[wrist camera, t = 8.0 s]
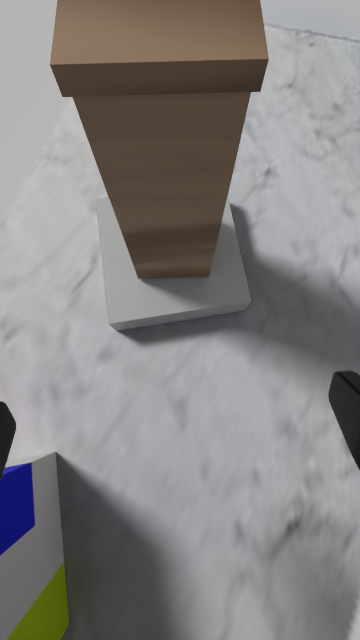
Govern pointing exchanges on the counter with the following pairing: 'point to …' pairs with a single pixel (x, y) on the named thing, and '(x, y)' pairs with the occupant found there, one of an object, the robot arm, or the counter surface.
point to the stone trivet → (169, 280)
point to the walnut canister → (162, 114)
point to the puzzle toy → (31, 551)
